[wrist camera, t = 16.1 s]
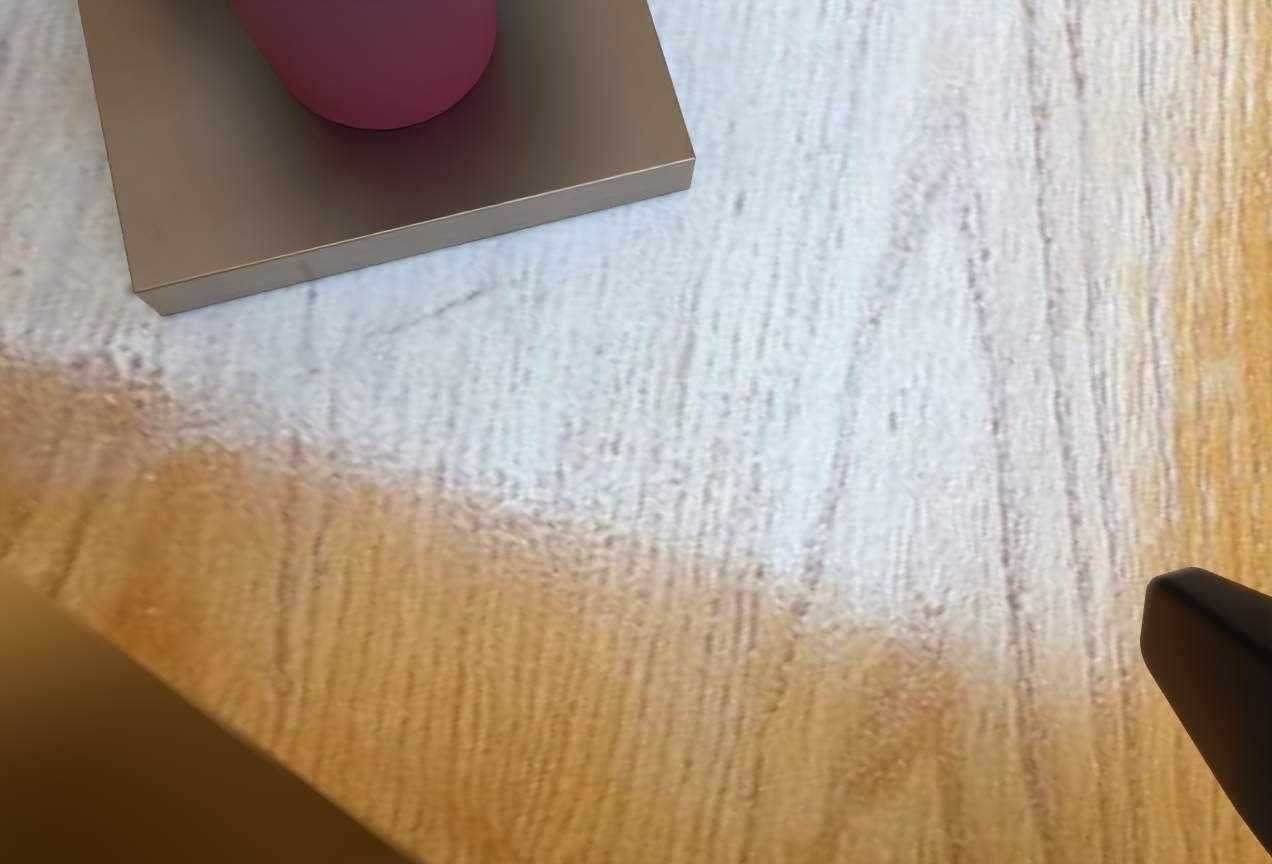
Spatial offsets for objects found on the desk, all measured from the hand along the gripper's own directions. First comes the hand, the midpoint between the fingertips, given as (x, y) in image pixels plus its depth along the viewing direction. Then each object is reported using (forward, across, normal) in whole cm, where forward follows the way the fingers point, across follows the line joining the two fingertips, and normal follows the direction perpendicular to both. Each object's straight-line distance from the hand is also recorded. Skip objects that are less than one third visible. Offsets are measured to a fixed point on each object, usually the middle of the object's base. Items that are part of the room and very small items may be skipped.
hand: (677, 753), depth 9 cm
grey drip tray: (+20, +1, -2) cm, 20 cm away
